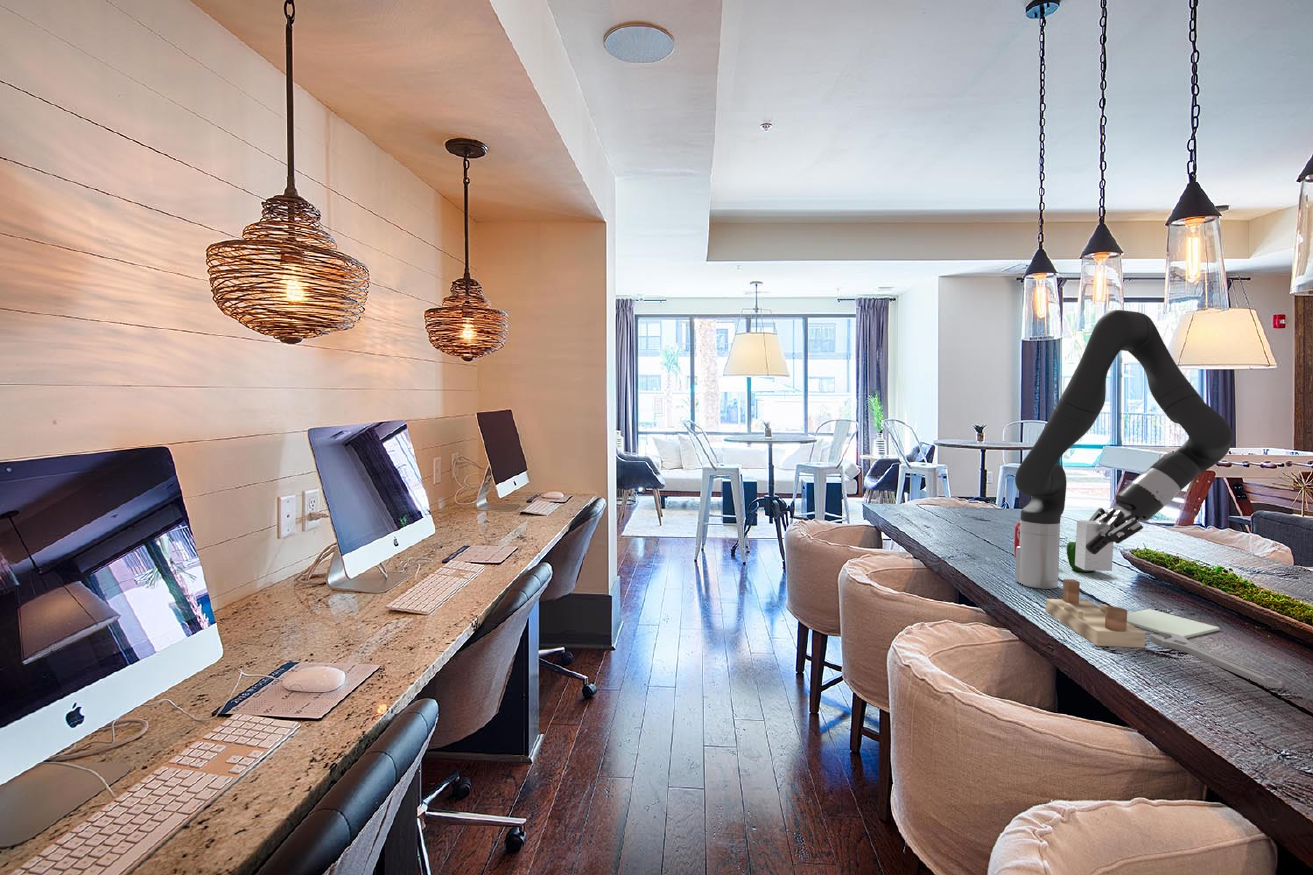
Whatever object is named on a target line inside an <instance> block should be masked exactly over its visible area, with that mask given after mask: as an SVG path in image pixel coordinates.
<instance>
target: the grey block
mask: <svg viewBox="0 0 1313 875" xmlns="http://www.w3.org/2000/svg"><path fill="white" fill-rule="evenodd" d="M1106 528H1107V523H1106V522H1103V521H1089V520H1083V519H1082V520H1081V519H1080V520H1079V519H1078V520H1076V535H1075V542H1076V552H1075V566H1077V567H1079V568H1081V569H1083V570H1095V572H1097V571H1098V572H1099V571H1102V572H1104V571H1105V572H1112V571H1113V561H1114V560H1113V558H1114V557H1113V556H1114V542H1113V543H1111V544H1109V543H1108V544H1107V545H1106V546H1105V547H1103V548H1102V549H1101V550H1100V551H1099V552H1098V553H1097V554H1092V553H1091V552H1090V551H1089V550H1088V549H1087V548H1086V547H1087V545H1089V544H1090V543H1091V542H1092V541H1093V540H1094V539H1096V538H1097V537H1098V536H1101V533H1102V532H1103V531H1104V530H1105V529H1106ZM1110 532H1111V531H1110Z"/></svg>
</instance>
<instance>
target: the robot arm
mask: <svg viewBox="0 0 1313 875" xmlns="http://www.w3.org/2000/svg"><path fill="white" fill-rule="evenodd" d="M1122 351H1124V352H1128V353H1129V354H1130V355H1132V357H1134V358H1135V359H1136V360H1137V361H1138V362H1139V364H1140V365H1141V367H1142V368H1143V371H1144V372H1145V374H1146V380H1147V383H1148V388H1149V391H1150V393H1151V395H1152V397H1153V399H1154V400H1155V402H1156V403H1157V405H1158V406H1159V407H1160V409H1161V410H1162V411H1163V413H1164V414H1165V415H1166V417H1167V418H1168V419H1169V420H1170V421H1171V422H1172V423H1174V424H1179V426H1180V427H1181V428H1182V429H1183V430H1184V432H1185V433H1186V434H1187V436H1188V439H1187V440H1186V441H1185V442H1184V443H1183V444H1182V445H1181V446H1180V447H1179V448H1177V449H1176V450H1175V451H1171V452H1168V453H1166V454H1164V455H1163V456H1162V457H1161V458H1159V459H1158V460H1157V461H1155V463H1153V464H1152V465H1151V466H1150V467H1149V468H1147V469H1146V470H1145V471H1143V472H1142V473H1140V474H1139V475H1138V476H1136V477H1135V478H1134V479H1133V480H1132V481H1131V482H1129V483H1128V484H1127V485H1126V486H1125V487H1123V489H1122V490H1120V491H1119V492H1118V493H1117V494H1116V495H1115V497H1114V498H1115V501H1116V504H1115V505H1112V506H1111V507H1109V508H1108V509H1107V510H1105V509H1104V508H1103V507H1099V508H1098V509H1097V510H1096V511H1095V512H1094V514H1093V515H1092V516H1091V517H1090V518H1089V520H1088V521H1103V522H1106V523H1107V528H1106V529H1105V530H1104V531H1103V532H1102V533H1101V536H1098V537H1097V538H1096V539H1094V540H1093V541H1092V542H1091V543H1090V544H1089V545H1087V547H1086V548H1087V549H1088V550H1089V551H1090V552H1091V553H1092V554H1097V553H1098V552H1099V551H1100V550H1101V549H1102V548H1103V547H1105V546H1106V545H1107V544H1108V543H1109V544H1111V543H1113V544H1114V543H1115V544H1117V545H1118V544H1120V543H1121V542H1123V541H1125V540H1127V539H1128V538H1130V537H1131V536H1133V535H1135V534H1137V533H1139V532H1140V531H1142V530H1143V529H1144V525H1142V523H1140V521H1142V522H1148V521H1149V520H1151V518H1152V517H1154V516H1155V515H1156V514H1158V513H1159V512H1160V511H1161V510H1162V509H1164V507H1166V506H1167V505H1168V504H1169V503H1170V502H1171V501H1172V500H1174V498H1176V496H1177V495H1178V494H1179V492H1181V491H1182V490H1183V489H1184V488H1186V487H1187V486H1188V485H1189V484H1191V482H1192V481H1194V480H1195V479H1196V477H1197V476H1200V474H1202V473H1204V472H1206V471H1207V470H1209V469H1210V468H1212V467H1213V466H1215V465H1216V464H1218V463H1219V462H1220V461H1221V460H1222V459H1223V458H1224V457H1226V455H1227V454H1228V453H1229V451H1230V448H1231V445H1232V443H1233V440H1234V432H1233V430H1232V427H1231V426H1230V424H1229V423H1228V422H1227V420H1226V419H1224V418H1223V416H1222V415H1220V413H1218V412H1217V411H1216V410H1215V409H1214V408H1213V407H1211V406H1210V405H1209V404H1207V403H1206V402H1205V400H1203V398H1202V396H1201V395H1200V394H1199V392H1198V391H1197V390H1196V389H1195V388H1194V386H1193V385H1192V383H1191V382H1189V380H1188V379H1187V378H1186V377H1185V375H1184V373H1183V372H1182V371H1181V369H1180V368H1179V367H1178V365H1177V364H1176V362H1175V360H1174V359H1173V357H1172V356H1171V354H1170V351H1169V350H1168V348H1167V346H1166V344H1165V342H1164V340H1163V338H1162V336H1161V335H1160V332H1159V331H1158V329H1157V327H1156V325H1155V323H1154V321H1153V320H1152V319H1151V317H1150V316H1148V315H1147V314H1145V313H1143V312H1139V311H1131V310H1125V309H1123V310H1122V309H1113V310H1112V309H1111V310H1110V311H1107V312H1106V313H1105V314H1103V315H1102V316H1101V317H1100V318H1099V319H1098V320H1097V322H1096V324H1095V326H1094V327H1093V329H1092V332H1091V334H1090V336H1089V339H1088V341H1087V344H1086V347H1085V349H1084V351H1083V354H1082V356H1081V358H1080V361H1079V362H1078V364H1077V367H1076V369H1075V370H1074V372H1073V373H1072V376H1071V378H1070V380H1069V382H1068V384H1067V386H1066V388H1065V389H1064V390H1063V392H1062V394H1061V396H1060V397H1059V400H1058V401H1057V403H1056V405H1055V408H1054V409H1053V411H1052V414H1051V415H1050V417H1049V419H1048V420H1047V422H1046V424H1045V426H1044V428H1043V429H1042V431H1041V433H1040V435H1039V436H1038V438H1037V440H1036V441H1035V444H1034V445H1033V447H1032V448H1031V449H1030V450H1029V452H1028V454H1026V456H1025V458H1024V459H1023V461H1022V462H1021V463H1020V465H1019V466H1018V468H1017V470H1016V473H1015V479H1014V481H1015V487H1016V489H1017V490H1018V492H1020V494H1022V495H1024V496H1027V497H1031V498H1030V501H1029V503H1028V504H1027V505H1026V506H1024V507H1023V508H1022V509H1021V511H1020V520H1021V522H1020V546H1018V547H1016V558H1015V568H1014V569H1015V570H1014V571H1015V572H1014V582H1016V583H1019V584H1020V583H1021V584H1020V585H1022V584H1023V585H1022V586H1026V587H1029V588H1035V589H1042V590H1043V589H1045V590H1048V589H1049V590H1050V589H1051V590H1052V589H1053V590H1054V589H1057V588H1059V570H1060V569H1059V568H1060V567H1059V566H1060V541H1061V539H1060V538H1061V517H1062V515H1063V514H1064V510H1065V507H1066V506H1065V505H1066V496H1067V495H1066V494H1067V475H1066V471H1065V469H1064V468H1063V466H1061V464H1060V463H1058V462H1059V461H1060V459H1061V457H1062V456H1063V455H1064V454H1065V453H1066V451H1068V450H1069V449H1070V448H1071V447H1073V446H1074V445H1075V444H1076V443H1077V442H1078V441H1079V440H1080V439H1082V437H1083V436H1085V435H1086V434H1087V433H1088V432H1089V430H1091V428H1092V427H1093V426H1094V424H1095V422H1096V420H1097V419H1098V417H1099V415H1100V414H1101V411H1102V410H1103V407H1104V405H1105V402H1106V396H1107V395H1106V394H1107V376H1108V373H1109V370H1110V368H1111V366H1112V365H1113V363H1114V361H1115V359H1116V358H1117V356H1118V355H1119V353H1120V352H1122ZM1110 531H1111V532H1110ZM1074 542H1075V543H1076V541H1074Z"/></svg>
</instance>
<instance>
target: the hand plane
mask: <svg viewBox="0 0 1313 875" xmlns="http://www.w3.org/2000/svg"><path fill="white" fill-rule="evenodd" d="M1080 585H1081V583H1080V581H1078V580H1077V579H1074V578H1073V579H1072V578H1071V579H1069V578H1063V579H1062V598H1060V599H1059V598H1045V612H1046V611H1047V612H1048V613H1047V612H1046V613H1047V614H1049V615H1050V614H1051V615H1050V616H1052V617H1053V618H1055V619H1056V618H1057V619H1056V620H1058V619H1059V620H1060V621H1059V620H1058V621H1059V622H1061V623H1062V624H1064V625H1065V626H1066V627H1068V626H1069V627H1068V628H1069V629H1071V630H1072V631H1073V632H1075V633H1077V634H1079V635H1080V636H1082V637H1083V638H1084V639H1086V640H1087V641H1089V642H1091V643H1092V644H1094V646H1096V647H1097V646H1099V647H1116V648H1117V647H1120V648H1121V647H1122V648H1146V632H1144V631H1143V630H1141V629H1139V627H1136V626H1132V625H1130V624H1129V623H1127V613H1128V610H1127V609H1125V608H1123V607H1117V606H1110V605H1108V604H1106V603H1100V606H1099V605H1096V604H1095V603H1093V602H1091V601H1089V600H1087V599H1080Z"/></svg>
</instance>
